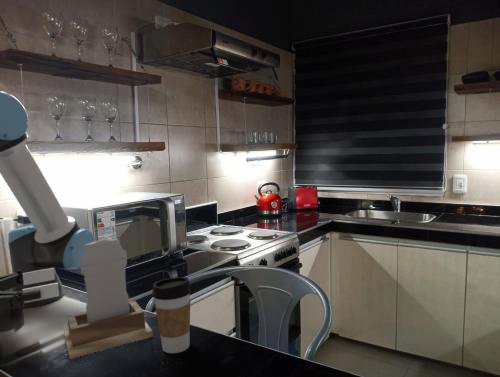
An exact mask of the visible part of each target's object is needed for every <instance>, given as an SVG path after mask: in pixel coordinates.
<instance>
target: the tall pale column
mask: <svg viewBox="0 0 500 377" xmlns="http://www.w3.org/2000/svg"><path fill="white" fill-rule="evenodd" d="M127 265H128V258H127V251H126V250H125V249H123V248H122V245H121V242H120V239H118V238H116V239H108V238H107V239H106V238H105V239H102V238H101V239H99V240H95V242H93V243H89V244H85V249H84V255H83V257H82V258H81V259H80V268H79V269H80V272H81V274H82V276H84V278H83V279H84V284H85V290H86V291H85V292H86V298H87V301H86V306H85V308H86V309H85V310H86V311H85V312H87V321H88V323H90V322H94V321H98V320H102V319H106V318H111V317H115V316H119V315H123V314H127V313H130V308H129V302H130V299H129V298H130V297H129V294H128V292H127V283H126V280H127V279H126V269H125V268H126V266H127Z"/></svg>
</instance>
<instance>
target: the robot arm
mask: <svg viewBox="0 0 500 377" xmlns="http://www.w3.org/2000/svg"><path fill="white" fill-rule="evenodd" d="M28 121H29V115H28V111H27V110H26V108H25V107H24V105H23V103H21V101H20V100H18V98H16V97H15V96H13V95H12V94H11V93H7V92H5V91H1V90H0V175H1V177H2V178H3V180H4V182H5V183H6V185H7V186H8V187H9V189H10V191H11V193H12V194H13V195H14V198H15V199H16V201H17V202H18V204H19V205H20V207H21V208H22V210H23V211H24V212H23V213H25V215H26V217H27V218H28V219H29V221H30V224H32V225H27V226H26V225H25V226H23V227H19V228H14V229H12V230H10V231H9V232H8V242H7V245H8V250H9V258H10V265H11V271H12V273H7V274H3V275H1V276H0V311H2V310H21V309H26V308H33V307H38V306H43V305H46V304H50V303H53V302H54V301H57V300H59V299H61V298H62V297H63V296H64V291H65V290H64V286H63V284H62V282H61V280H60V278H59V276H58V273H57V272H56V269H60V270H61V269H62V270H79V269H80V259H81V258H82V257H83V255H84V249H85V244H89V243H93V242H95V241H96V240H95V236H94V234H93V232H92V231H90V230H89V229H87V228H80V226H79V225H78V222H77V221H76V219H75V218H74V217H73V216H69V215H67V214H66V213H65V210H64V209H63V207H62V206H61V204H60V202H59V201H58V199H57V197H56V195H55V193H54V191H53V190H52V187H50V184H49V183H48V181H47V179H46V177H45V176H44V174H43V172H42V170H41V168H40V167H39V165H38V163H37V161H36V160H35V158H34V156H33V155H32V152H31V151H30V149H29V148H28V146H27V142H28V138H29V134H28V133H27V131H28V128H29V123H28ZM7 290H8V291H7Z"/></svg>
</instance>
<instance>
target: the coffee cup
mask: <svg viewBox="0 0 500 377" xmlns="http://www.w3.org/2000/svg"><path fill="white" fill-rule="evenodd" d="M191 293H192V287H191V284H190V279H189V278H188V277H187V276H186V277H185V276H183V277H182V276H181V277H180V276H179V277H170V278H164V279H160V280H158V281H155V282H154V283H153V284H152V291H151V294H152V295H151V296H152V297H153V298H154V302H155V303H154V309H155V314H156V319H157V320H156V321H157V325H158V331H159V335H160V341H161V347H162V350H163V352H165V353H166V354H178V353H182V352H184V351H186V350H188V349H189V347H190V344H191V343H190V340H191V339H190V337H191V336H190V333H191V332H190V330H191V327H190V326H191V299H190V296H191V295H190V294H191Z"/></svg>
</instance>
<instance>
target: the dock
mask: <svg viewBox="0 0 500 377" xmlns="http://www.w3.org/2000/svg"><path fill="white" fill-rule="evenodd" d="M129 308H130V313H127V314H123V315H119V316H115V317H111V318H106V319H102V320H98V321H94V322H90V323H88V321H87V311H83V312H78V313H75V314H71V315H67V324H68V327H67V328H64V329H63V336H65V337H64V339H65V340H64V341H65V345H66V349H67V353H68V357H69V360H73V359H74V360H75V359H78V358H80V356H81V357H85V356H88V355H87V354H89V355H91V354H90V353H92V354H94V353H93V352H96V353H98V352H97V351H100V352H102V351H101V350H103V351H105V350H104V349H107V348H110V349H112V348H111V347H114V348H116V347H115V346H118V347H120V346H119V345H121V346H124V345H123V344H125V345H127V344H126V343H129V344H131V343H130V342H132V343H135V342H134V341H136V342H139V340H140V341H143V340H147V339H150V337H151V338H154V335H153V334H154V333H153V330H152V328H151V327H150V326H149V324H148V323H147V322H146V320H145V311H144V310H143V309H142V308H141V306H140V305H139V304H138V303H137V301H136V300H132V301H129ZM107 350H108V349H107ZM84 355H85V356H84ZM77 357H78V358H77Z"/></svg>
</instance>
